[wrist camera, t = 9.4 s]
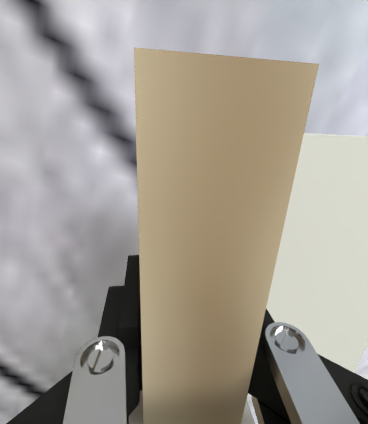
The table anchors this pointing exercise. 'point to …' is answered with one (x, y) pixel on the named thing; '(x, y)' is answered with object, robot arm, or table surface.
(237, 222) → the beige upright post
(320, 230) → the white rectangular board
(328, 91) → the table surface
